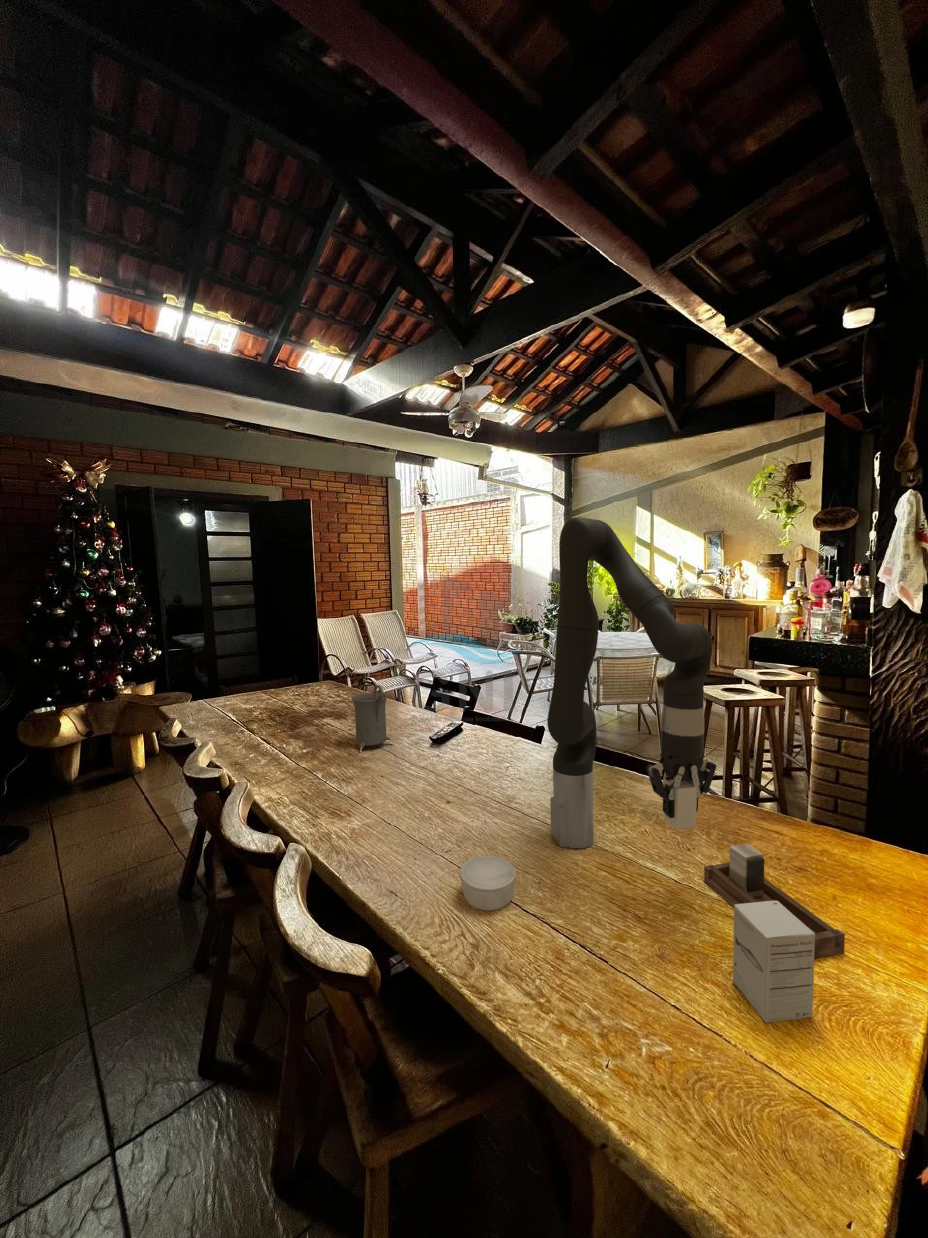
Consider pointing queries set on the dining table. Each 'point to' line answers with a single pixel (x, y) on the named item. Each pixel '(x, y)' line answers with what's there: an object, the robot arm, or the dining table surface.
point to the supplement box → (773, 960)
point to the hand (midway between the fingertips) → (680, 814)
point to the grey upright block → (684, 807)
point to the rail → (766, 894)
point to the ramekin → (488, 882)
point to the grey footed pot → (370, 717)
